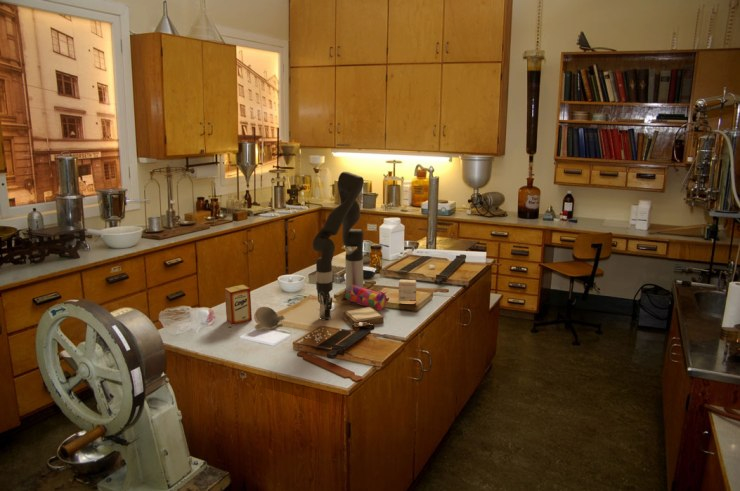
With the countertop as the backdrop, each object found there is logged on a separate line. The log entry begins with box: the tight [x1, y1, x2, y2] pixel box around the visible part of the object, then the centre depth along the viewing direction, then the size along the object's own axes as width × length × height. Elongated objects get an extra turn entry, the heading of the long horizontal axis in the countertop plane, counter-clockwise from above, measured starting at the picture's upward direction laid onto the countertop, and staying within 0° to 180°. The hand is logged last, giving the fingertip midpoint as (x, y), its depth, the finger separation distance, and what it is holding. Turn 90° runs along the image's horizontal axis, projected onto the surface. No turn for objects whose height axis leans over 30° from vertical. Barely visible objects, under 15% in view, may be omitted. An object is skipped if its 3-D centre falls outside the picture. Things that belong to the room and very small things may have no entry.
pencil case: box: [345, 285, 390, 311], centre depth 278 cm, size 22×9×9 cm, turn 55°
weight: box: [318, 302, 332, 320], centre depth 262 cm, size 5×5×8 cm
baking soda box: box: [224, 284, 253, 325], centre depth 258 cm, size 10×6×16 cm
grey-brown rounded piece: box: [253, 306, 286, 331], centre depth 253 cm, size 15×8×11 cm, turn 138°
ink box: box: [398, 279, 417, 302], centre depth 280 cm, size 9×5×12 cm, turn 84°
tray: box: [342, 306, 385, 326], centre depth 260 cm, size 14×14×3 cm
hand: (325, 314), depth 262 cm, fingers closed on weight, 5 cm apart
